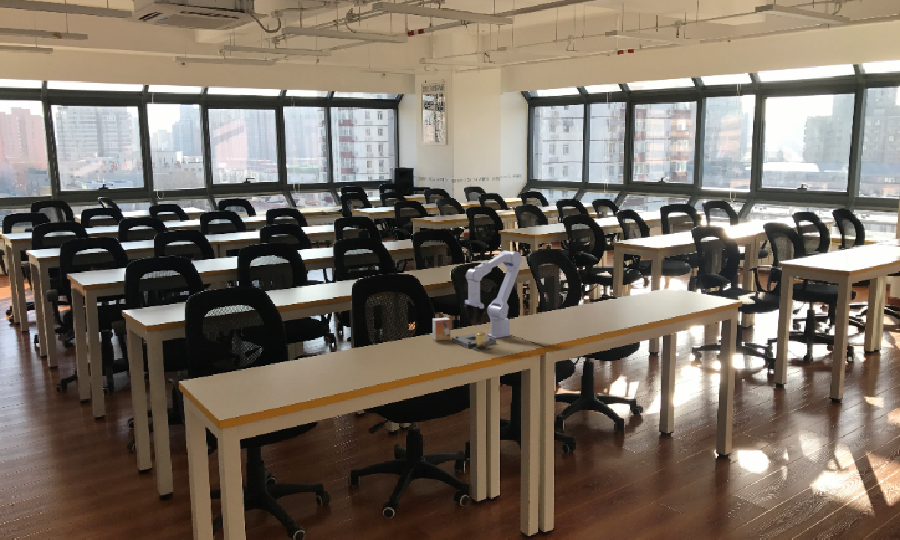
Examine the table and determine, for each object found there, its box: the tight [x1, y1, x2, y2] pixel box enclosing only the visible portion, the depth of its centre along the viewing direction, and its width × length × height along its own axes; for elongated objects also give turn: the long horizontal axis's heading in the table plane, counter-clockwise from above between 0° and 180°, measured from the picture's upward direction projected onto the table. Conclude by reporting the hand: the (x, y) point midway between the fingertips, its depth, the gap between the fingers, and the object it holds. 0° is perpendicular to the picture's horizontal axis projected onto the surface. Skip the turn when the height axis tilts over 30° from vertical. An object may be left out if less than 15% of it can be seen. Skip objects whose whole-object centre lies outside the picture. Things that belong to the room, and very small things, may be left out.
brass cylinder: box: [475, 332, 486, 349], centre depth 338 cm, size 5×5×7 cm
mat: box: [469, 345, 492, 352], centre depth 338 cm, size 7×7×1 cm
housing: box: [451, 333, 497, 349], centre depth 350 cm, size 16×16×2 cm
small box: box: [432, 316, 452, 342], centre depth 357 cm, size 8×6×10 cm
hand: (474, 320), depth 352 cm, fingers open, 7 cm apart
